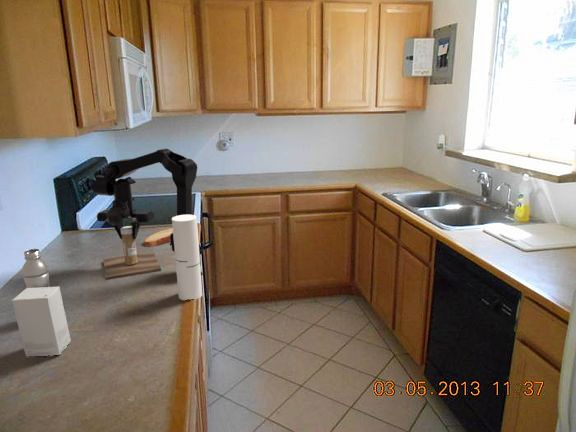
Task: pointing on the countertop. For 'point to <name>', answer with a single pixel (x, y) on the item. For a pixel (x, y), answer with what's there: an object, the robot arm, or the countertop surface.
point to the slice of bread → (158, 238)
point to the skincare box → (41, 321)
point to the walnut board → (130, 266)
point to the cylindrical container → (187, 256)
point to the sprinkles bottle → (129, 245)
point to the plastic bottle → (35, 270)
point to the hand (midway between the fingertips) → (128, 239)
